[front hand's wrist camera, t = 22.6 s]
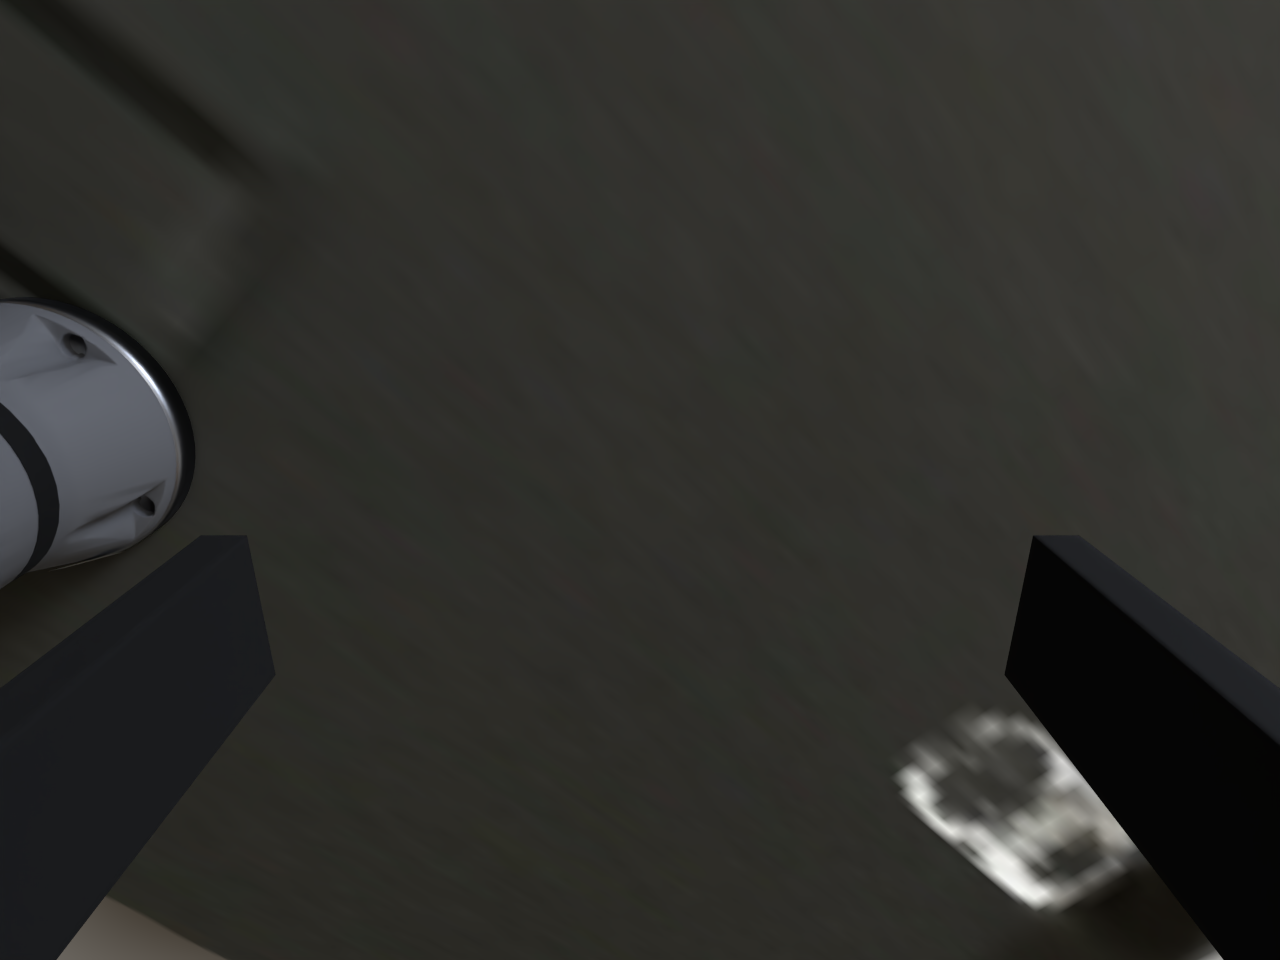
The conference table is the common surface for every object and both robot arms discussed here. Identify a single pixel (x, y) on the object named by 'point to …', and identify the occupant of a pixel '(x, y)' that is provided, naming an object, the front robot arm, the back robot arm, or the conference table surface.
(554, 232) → the conference table surface
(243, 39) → the conference table surface
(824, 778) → the conference table surface
